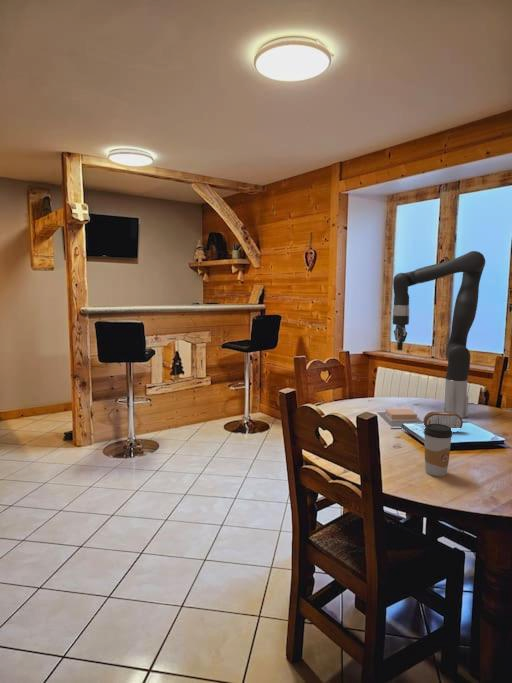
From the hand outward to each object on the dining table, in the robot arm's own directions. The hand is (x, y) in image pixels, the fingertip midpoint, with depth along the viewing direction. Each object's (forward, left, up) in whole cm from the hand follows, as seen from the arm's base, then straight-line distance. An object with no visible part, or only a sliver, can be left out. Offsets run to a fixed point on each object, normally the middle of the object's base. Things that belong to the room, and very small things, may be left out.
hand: (399, 350), depth 217 cm
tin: (-6, +38, -29) cm, 48 cm away
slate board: (+6, +23, -29) cm, 37 cm away
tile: (+6, +18, -26) cm, 32 cm away
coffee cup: (+14, +79, -29) cm, 85 cm away
